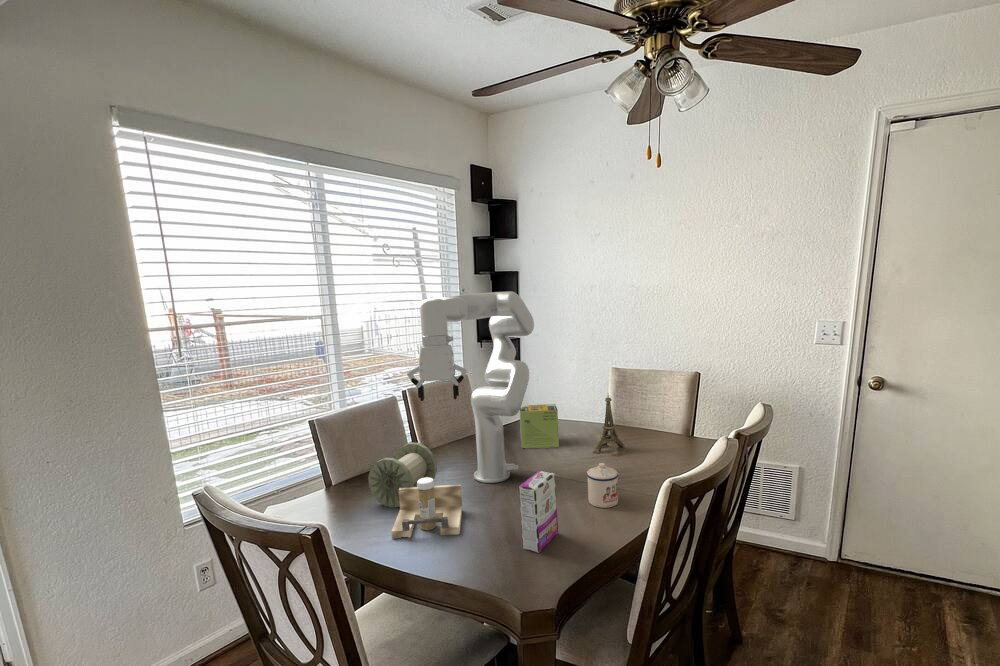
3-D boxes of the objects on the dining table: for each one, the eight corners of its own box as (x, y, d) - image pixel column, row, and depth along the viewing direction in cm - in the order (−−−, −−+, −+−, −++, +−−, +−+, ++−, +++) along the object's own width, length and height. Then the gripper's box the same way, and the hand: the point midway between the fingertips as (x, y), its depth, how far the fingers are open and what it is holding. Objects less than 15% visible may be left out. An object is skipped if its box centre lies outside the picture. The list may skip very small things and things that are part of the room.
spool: (412, 510, 145) (409, 461, 144) (370, 504, 150) (366, 457, 149) (438, 488, 161) (435, 444, 159) (399, 483, 166) (396, 441, 165)
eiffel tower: (627, 448, 189) (625, 385, 187) (618, 457, 181) (616, 391, 178) (601, 445, 195) (599, 384, 193) (591, 453, 186) (589, 389, 184)
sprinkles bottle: (416, 528, 134) (413, 480, 133) (429, 521, 137) (426, 475, 136) (427, 532, 131) (424, 484, 130) (440, 525, 134) (437, 478, 133)
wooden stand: (462, 510, 143) (460, 484, 142) (459, 534, 129) (457, 505, 128) (401, 514, 143) (399, 488, 142) (391, 538, 128) (389, 509, 128)
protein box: (559, 447, 195) (558, 409, 194) (521, 449, 195) (519, 411, 194) (556, 439, 205) (555, 403, 204) (520, 441, 206) (518, 405, 204)
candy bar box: (541, 529, 130) (539, 469, 128) (558, 533, 127) (556, 472, 125) (521, 549, 120) (517, 485, 119) (539, 554, 117) (535, 488, 116)
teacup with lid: (607, 511, 137) (605, 472, 136) (581, 502, 144) (580, 464, 143) (630, 498, 146) (629, 460, 144) (605, 489, 152) (603, 453, 151)
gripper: (465, 338, 144) (468, 394, 146) (407, 341, 144) (411, 398, 145) (464, 341, 137) (467, 400, 138) (403, 344, 136) (407, 404, 138)
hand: (439, 399), depth 142 cm, fingers open, 9 cm apart
